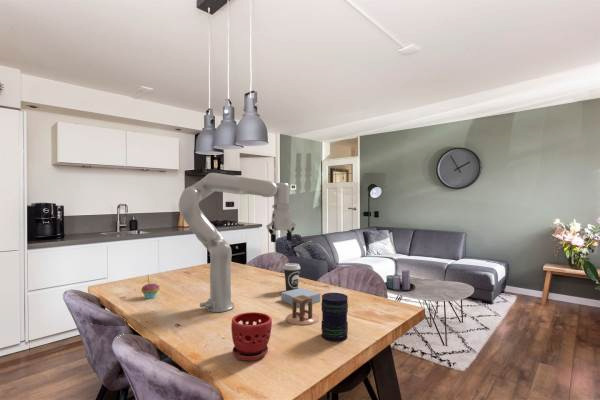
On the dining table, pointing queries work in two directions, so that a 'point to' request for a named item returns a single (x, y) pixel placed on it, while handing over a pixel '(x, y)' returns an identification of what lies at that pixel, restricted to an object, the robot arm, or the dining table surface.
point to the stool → (302, 306)
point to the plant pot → (251, 335)
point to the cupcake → (150, 290)
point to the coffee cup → (291, 276)
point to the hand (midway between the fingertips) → (281, 241)
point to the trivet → (305, 322)
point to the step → (290, 294)
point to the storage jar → (334, 317)
